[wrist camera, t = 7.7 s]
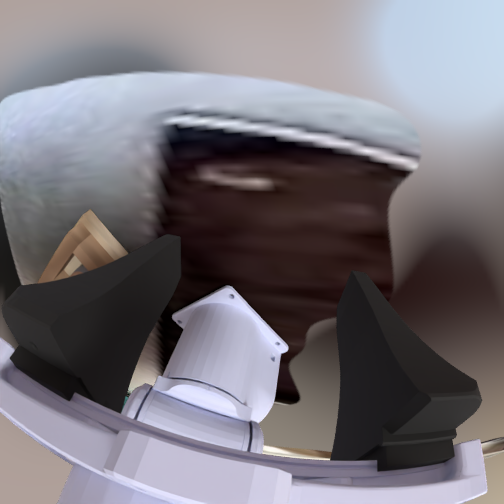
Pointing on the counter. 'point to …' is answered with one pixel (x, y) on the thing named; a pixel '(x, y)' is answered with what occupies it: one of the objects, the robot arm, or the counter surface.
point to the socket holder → (83, 249)
